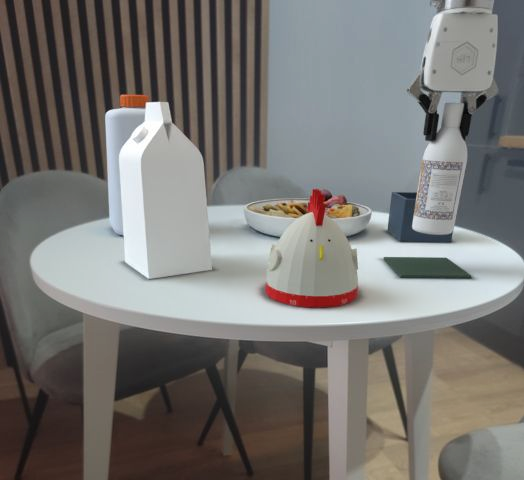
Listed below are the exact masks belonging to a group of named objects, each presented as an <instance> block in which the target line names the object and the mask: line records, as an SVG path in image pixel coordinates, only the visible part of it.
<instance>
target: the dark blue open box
mask: <svg viewBox="0 0 524 480" xmlns="http://www.w3.org/2000/svg"><path fill="white" fill-rule="evenodd" d="M416 197H417V192H416V191H415V192H414V191H413V192H412V191H391V197H390V203H389V204H390V205H389V211H388V222H387V229H386V231H387V232H388V233H389V234H390V235H391V236H392V237H393V238H395V239H396V240H397V241H398V242H400V243H452V242H453V236H454V235H453V234H454V231H453V232H452V233H450V234H445V235H434V234H426V233H420V232H417V231H415V230H413V228H412V223H413V217H414V210H415V204H416Z"/></svg>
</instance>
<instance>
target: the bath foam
mask: <svg viewBox="0 0 524 480" xmlns="http://www.w3.org/2000/svg"><path fill="white" fill-rule="evenodd" d="M463 109H464V103H462V102H445V103H444V107H443V112H442V118H441V123H440V126H441V127H440V128H439V129H438V130H437V134H436V140H434V141H429V143H428V144H427V146H426V148H425V149H424V153H423V156H422V160H421V165H420V166H421V167H420V173H419V179H418V184H417V185H418V186H417V197H416V204H415V210H414V217H413V223H412V228H413V230H415V231H417V232H420V233H426V234H434V235H445V234H450V233H452V232H453V233H454V229H455V225H456V219H457V216H458V210H459V205H460V200H461V196H462V195H461V194H462V191H463V186H464V179H465V174H466V169H467V164H468V147H467V144H466V140H465V141H464V140H463V138H462V136H461V131H460V128H459V127H460V125H461V120H462V114H463Z"/></svg>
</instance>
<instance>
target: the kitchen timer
mask: <svg viewBox="0 0 524 480" xmlns="http://www.w3.org/2000/svg"><path fill="white" fill-rule="evenodd" d="M311 190H312V191H311V195H309V199H310V202H308V213H307V214H305V215H303V216H301V217H300V218H298V219H297V220H295V221H294V222H293V223H292V224H291V225H290V226H289V227H288V228H287V229H286V230H285V232H284V233H283V234H282V236H281V237H279V239H278V240H277V243H276V244H274V243H273V244H272V245H271V247H270V251H269V257H268V262H267V266H266V267H267V270H266V271H267V272H266V278H265V294H266V295H267V297H268V298H270V299H272V300H273V301H276V302H278V303H282V304H284V305H288V306H289V305H290V306H294V307H299V308H300V307H302V308H330V307H331V308H332V307H339V306H342V305H346V304H349V303H351V302H353V301H355V300H356V298H357V296H358V288H359V276H358V270H359V263H358V249H357V248H352V246H351V244H350V242H349V239H348V238H347V237H346V236H345V234H344V232H343V231H342V229H341V228H340V227H339V226H338V224H337V223H336V222H335V221H334V220H332V219H331V218H330V217H328V216H327V215H325V207H326V205H323V204H324V194H321V191H319V190H320V189H319V188H312V189H311Z"/></svg>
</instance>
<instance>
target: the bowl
mask: <svg viewBox="0 0 524 480" xmlns="http://www.w3.org/2000/svg"><path fill="white" fill-rule="evenodd" d="M319 191H321V194H324V204H323V205H326V207H325V215H327V216H328V217H330V218H331V219H332V220H334V221H335V222H336V223H337V224H338V226H339V227H340V228H341V229H342V231H343V232H344V234H345V236H346V238H347V237H350V236H354V235H357V234H359V233H360V232H363V230H365V229H366V228H367V227H368V225H369V223H370V221H371V219H372V209H371V208H370V207H368V206H366V205H363V204H359V203H355V202H349V201H348V200H347V198H346V196H345V195H343V194H337V195H334V196H333V195H332V193H331V191H330V190H328V189H325V188H323V189H319ZM308 202H310V198H272V199H264V200H257V201H253V202H249V203H246V204H245V205H244V206H243V215H244V219H245V221H246V223H248V225H249V226H250V227H251V228H252V229H254V230H256V231H257V232H259V233H262V234H265V235H269V236H273V237H279V238H280V237H281V236H282V234H283V233H284V232H285V230H286V229H287V228H288V227H289V226H290V225H291V224H292V223H293V222H294V221H295V220H297V219H298V218H300V217H301V216H303V215H305V214H307V213H308Z"/></svg>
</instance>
